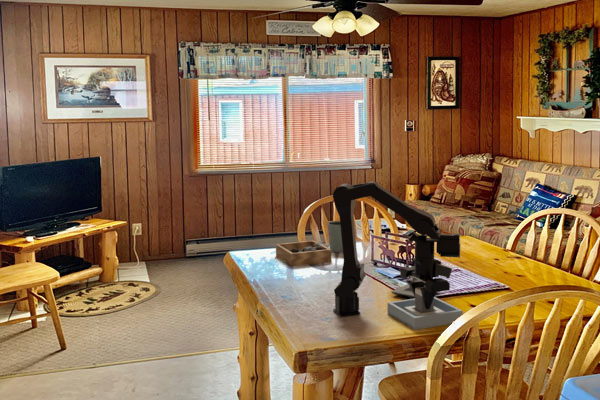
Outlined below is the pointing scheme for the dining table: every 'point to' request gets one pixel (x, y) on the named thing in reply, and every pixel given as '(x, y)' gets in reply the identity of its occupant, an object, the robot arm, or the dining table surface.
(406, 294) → the grey rectangular plate
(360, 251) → the dining table surface
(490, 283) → the dining table surface
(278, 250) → the wooden tray
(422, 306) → the plug
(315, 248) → the bison figurine
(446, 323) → the walled box
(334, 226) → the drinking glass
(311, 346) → the dining table surface
